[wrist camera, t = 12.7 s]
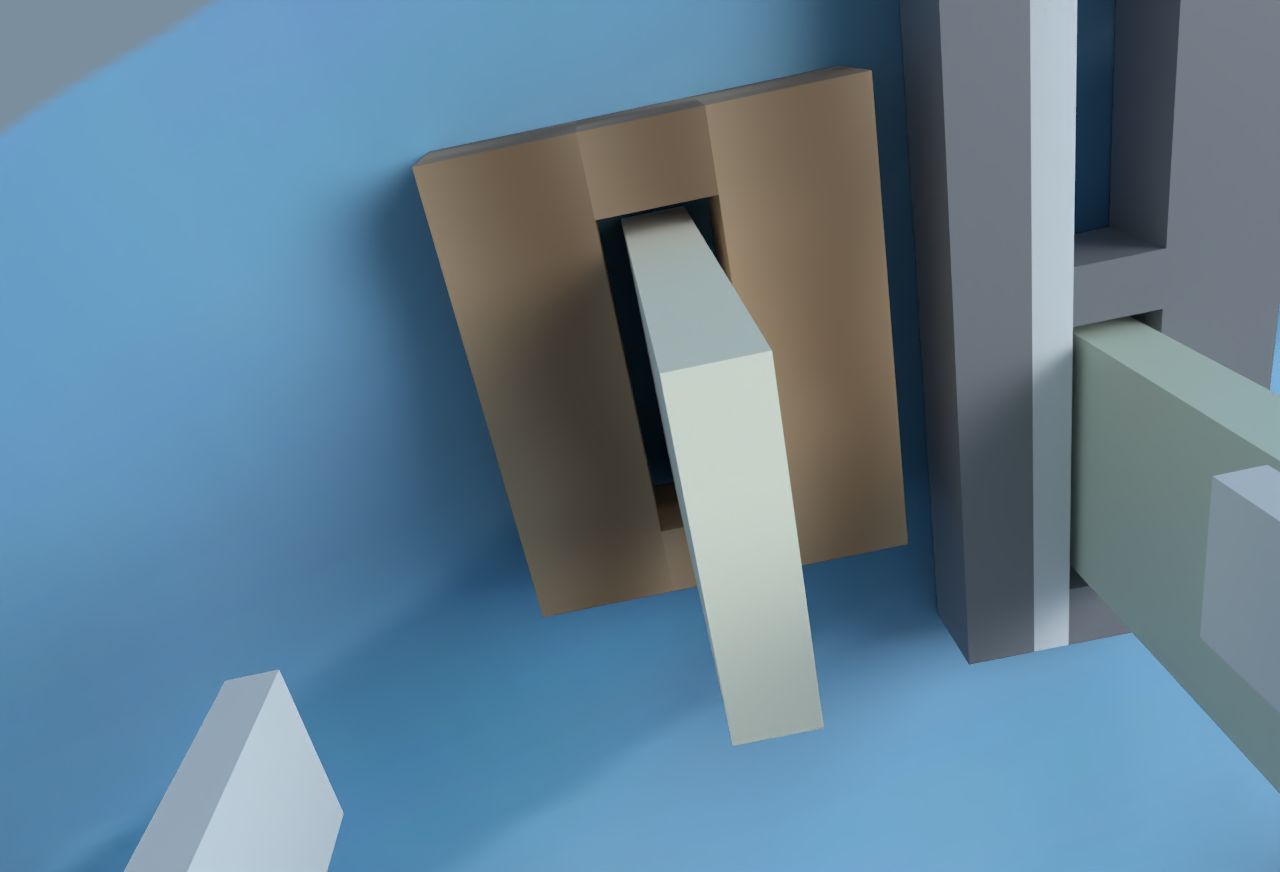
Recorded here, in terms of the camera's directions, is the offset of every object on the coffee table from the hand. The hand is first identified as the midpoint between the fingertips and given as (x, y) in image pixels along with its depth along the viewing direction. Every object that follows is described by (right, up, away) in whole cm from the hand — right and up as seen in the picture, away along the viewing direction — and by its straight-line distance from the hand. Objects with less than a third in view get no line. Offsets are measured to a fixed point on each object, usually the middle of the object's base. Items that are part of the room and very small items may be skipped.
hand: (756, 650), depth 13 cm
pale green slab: (-1, +5, +11) cm, 13 cm away
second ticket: (+10, +3, +13) cm, 17 cm away
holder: (-1, +5, +11) cm, 13 cm away
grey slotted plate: (+10, +8, +11) cm, 17 cm away
